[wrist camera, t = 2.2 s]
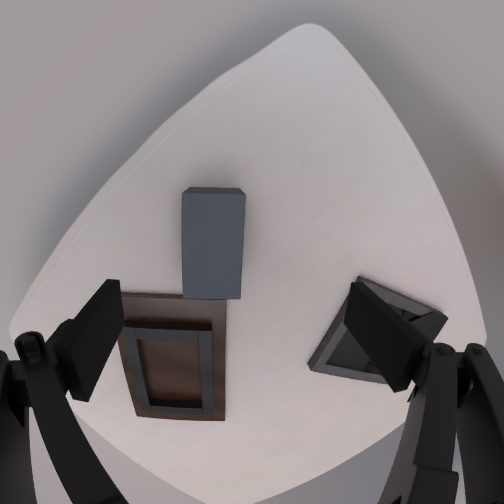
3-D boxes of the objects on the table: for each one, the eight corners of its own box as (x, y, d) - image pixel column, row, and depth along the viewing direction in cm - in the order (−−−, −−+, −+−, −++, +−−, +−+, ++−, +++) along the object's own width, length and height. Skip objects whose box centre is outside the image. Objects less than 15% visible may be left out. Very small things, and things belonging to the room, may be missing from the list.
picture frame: (441, 312, 36) (358, 275, 33) (448, 317, 35) (366, 282, 31) (396, 380, 39) (307, 363, 36) (401, 387, 38) (311, 372, 34)
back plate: (224, 416, 37) (225, 428, 35) (137, 411, 35) (135, 423, 33) (226, 295, 31) (226, 306, 29) (112, 291, 30) (105, 301, 27)
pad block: (236, 274, 31) (240, 299, 25) (188, 273, 30) (182, 298, 24) (240, 188, 28) (245, 194, 22) (189, 187, 27) (181, 192, 22)
